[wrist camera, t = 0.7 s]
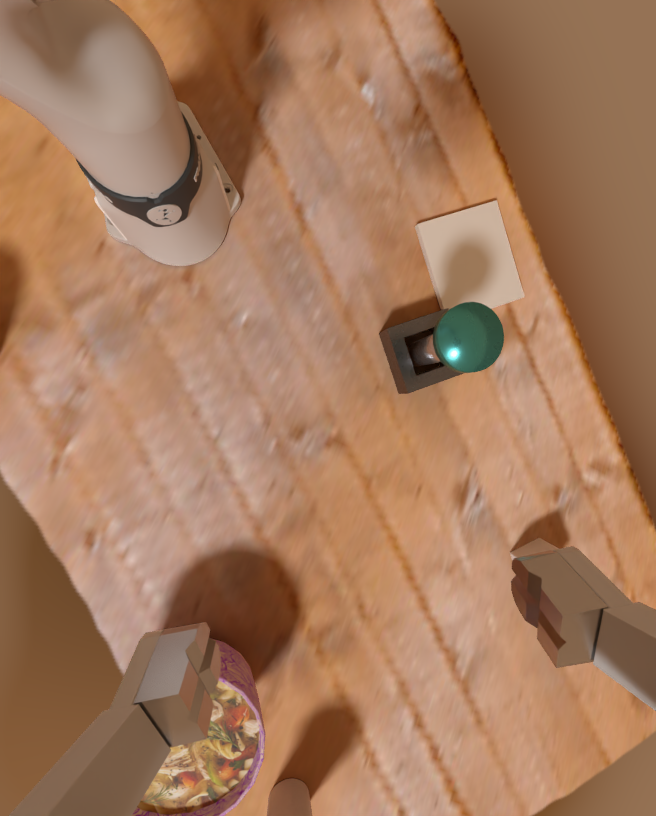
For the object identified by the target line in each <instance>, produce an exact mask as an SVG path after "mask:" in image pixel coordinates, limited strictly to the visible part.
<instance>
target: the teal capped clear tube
mask: <svg viewBox="0 0 656 816" xmlns="http://www.w3.org/2000/svg"><path fill="white" fill-rule="evenodd" d="M503 342H504V333H503V327H502V324H501V322H500V320H499V318H498V316H497V315H496V314H495V313H494V311H492V310H491V309H490V308H489V307H487V306H486V305H484V304H481V303H477V302H465V303H461V304H459V305H456V306H454V307H453V308H451V309H449V310H447V311H446V312H445V313H444V314H443V315H442V316H441V317H440V318H439V319H438V321H437V323H436V325H435V328H434V332H433V334H432V335H429V336H427V337H425V338H422V339H420V340H417V341H415V342H412V343H411V344H409V345H408V347H407V349H408V352H409V356H410V359H411V362H412V365H413V366H423V365H428V364H432V363H437V362H442V363H443V364H444V365H445V366H446V367H447V368H449V369H450V370H453V371H455V372H459V373H470V372H478V371H481V370H484V369H486V368H488V367H489V366H490V365H492V364H493V363H494V362H495V361H496V359H497V358H498V356H499V355H500V353H501V350H502V347H503Z"/></svg>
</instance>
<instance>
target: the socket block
mask: <svg viewBox="0 0 656 816" xmlns="http://www.w3.org/2000/svg"><path fill="white" fill-rule="evenodd" d="M447 310H449V309H448V308H447V309H444V310H441V311H438V312H435V313H432V314H429V315H426V316H423V317H420V318H417V319H414V320H411V321H408V322H405V323H402V324H399V325H396V326H393V327H390V328H387V329H385V330H384V331H382V332H381V333H379V335H380V338H381V341H382V344H383V347H384V350H385V353H386V356H387V359H388V362H389V365H390V369H391V372H392V375H393V378H394V381H395V384H396V387H397V390H398V393H399V394H408V393H411V392H414V391H416V390H419V389H422V388H425V387H427V386H430V385H433V384H436V383H438V382H441V381H444V380H447V379H449V378H452V377H455V376H458V375H460V374H463V373H459V372H455V371H453V370H450V369H449V368H447V367H446V366H445V365H444V364H443V363H442V362H439V365H440V366H438V367H435V368H432V369H429V370H427V371H424V372H421V373H418V374H415V371H414V368H413V365H412V362H411V359H410V356H409V352H408V349H407V346H406V343H405V340H404V338H407V337H410V336H413V335H416V334H419V333H422V332H425V331H428V330H429V333H430V335H432V334H433V332H434V328H435V325H436V323H437V321H438V319H439V318H440V317H441V316H442V315H443V314H444V313H445V312H446V311H447Z"/></svg>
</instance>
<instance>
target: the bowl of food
mask: <svg viewBox="0 0 656 816" xmlns="http://www.w3.org/2000/svg"><path fill="white" fill-rule="evenodd" d="M213 640H215V639H213ZM215 641H216V642H217V645H218V647H219V651H220V656H221V666H220V675H219V680H218V684H217V685H216V687H215V688H214V690H213V691H212V693H211V694H210V697H211V699H212V702H213V704H214V706H213V710H212V715H211V720H210V725H209V730H208V735H207V739H205V740H201V741H196V742H192V743H188V744H184V745H180V746H175V747H171V748H170V749H171V751H170V753H169V755H168V756H167V758H166V760H165V761H164V763H163V765H162V766H161V768H160V770H159V771H158V773H157V774H156V776H155V778H154V779H153V781H152V783H151V784H150V786H149V788H148V789H147V791H146V793H145V794H144V796H143V798H142V799H141V801H140V803H139V804H138V806H137V808H136V809H135V811H134V812H133V814H132V816H224V815H225V814H226V813H228V812H229V811H230V810H232V809H233V808H234V807H236V806H237V805H238V804H239V802H240V801H241V800H242V799H243V797H244V796H245V795H246V793H247V792H248V791H249V789H250V788H251V787H252V786H253V784H254V782H255V780H256V777H257V775H258V772H259V770H260V767H261V765H262V762H263V759H264V745H265V730H264V724H263V719H262V714H261V708H260V703H259V698H258V693H257V689H256V686H255V682H254V679H253V675H252V672H251V668H250V666H249V665H248V663H247V662H246V660H245V659H244V658H243V656H242V655H241V654H240V653H239V652H238V651H237V650H235V649H234V648H232V647H231V646H229V645H228V644H226V643H225V642H222V641H218V640H215Z"/></svg>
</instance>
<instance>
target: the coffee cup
mask: <svg viewBox="0 0 656 816" xmlns="http://www.w3.org/2000/svg"><path fill="white" fill-rule="evenodd" d="M267 816H312V809H311V802H310V795H309V790H308V787H307V786H306V784H305V783H304V782H302V781H301V780H299V779H294V778H290V779H285V780H283V781H281V782H279V783H278V784H277V785H276V786H275V787H274V788H273V789H272V791H271V793H270V795H269V800H268V809H267Z"/></svg>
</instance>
